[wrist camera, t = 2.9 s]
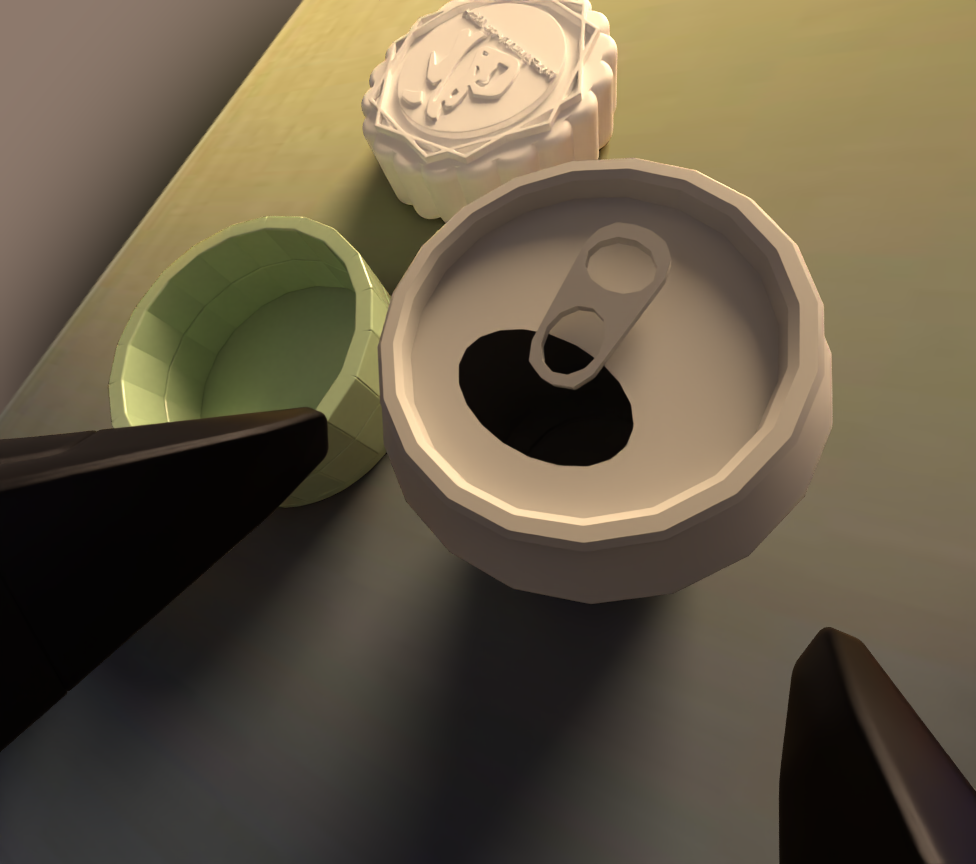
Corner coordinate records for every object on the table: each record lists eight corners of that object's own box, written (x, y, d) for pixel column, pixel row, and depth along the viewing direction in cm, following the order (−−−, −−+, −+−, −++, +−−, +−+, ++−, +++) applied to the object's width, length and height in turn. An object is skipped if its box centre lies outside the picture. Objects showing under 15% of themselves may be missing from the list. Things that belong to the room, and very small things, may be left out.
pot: (320, 558, 19) (241, 548, 15) (156, 436, 24) (59, 402, 19) (465, 330, 21) (431, 265, 17) (290, 253, 25) (227, 186, 21)
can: (459, 515, 19) (240, 397, 8) (570, 364, 20) (520, 63, 8) (628, 647, 16) (675, 767, 5) (749, 465, 17) (1021, 213, 6)
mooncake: (349, 144, 27) (313, 81, 24) (521, 16, 27) (509, -65, 24) (463, 275, 22) (437, 219, 19) (671, 120, 22) (681, 37, 19)
